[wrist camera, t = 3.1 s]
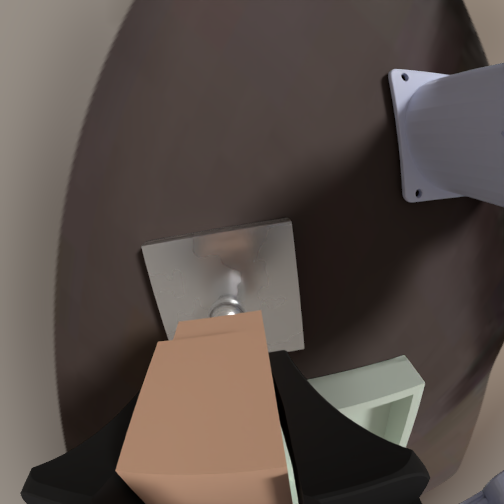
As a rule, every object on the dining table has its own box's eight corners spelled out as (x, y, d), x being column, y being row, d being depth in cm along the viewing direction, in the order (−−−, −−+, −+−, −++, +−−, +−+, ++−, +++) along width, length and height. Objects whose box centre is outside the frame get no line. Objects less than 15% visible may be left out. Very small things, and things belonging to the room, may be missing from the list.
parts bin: (404, 354, 20) (425, 382, 17) (381, 457, 25) (392, 481, 22) (250, 389, 20) (252, 425, 17) (272, 482, 25) (275, 509, 22)
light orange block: (257, 289, 12) (287, 466, 4) (273, 387, 14) (297, 537, 6) (172, 302, 12) (115, 471, 4) (202, 395, 14) (190, 543, 6)
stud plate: (288, 217, 17) (301, 233, 13) (301, 339, 19) (312, 374, 16) (146, 241, 17) (126, 262, 13) (179, 357, 19) (171, 392, 16)
